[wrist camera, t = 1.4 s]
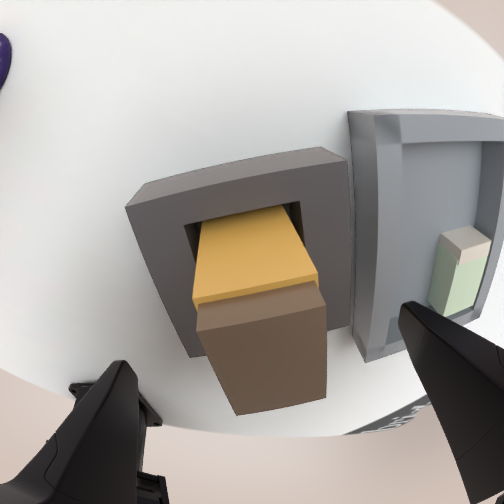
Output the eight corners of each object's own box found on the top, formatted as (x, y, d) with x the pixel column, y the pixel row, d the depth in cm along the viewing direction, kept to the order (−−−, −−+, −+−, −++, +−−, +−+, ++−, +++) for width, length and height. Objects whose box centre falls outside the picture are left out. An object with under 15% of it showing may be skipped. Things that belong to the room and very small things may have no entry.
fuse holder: (331, 289, 16) (349, 325, 13) (193, 318, 16) (189, 357, 14) (320, 146, 12) (347, 160, 10) (144, 183, 12) (124, 207, 10)
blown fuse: (289, 282, 15) (328, 399, 9) (227, 294, 15) (234, 418, 9) (277, 195, 12) (329, 297, 6) (203, 211, 12) (189, 326, 6)
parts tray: (462, 298, 18) (479, 317, 16) (352, 335, 18) (365, 363, 16) (487, 113, 11) (516, 121, 9) (347, 111, 11) (373, 115, 9)
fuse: (457, 288, 17) (473, 306, 15) (427, 300, 17) (442, 319, 15) (471, 225, 14) (492, 240, 13) (439, 233, 14) (460, 250, 13)
